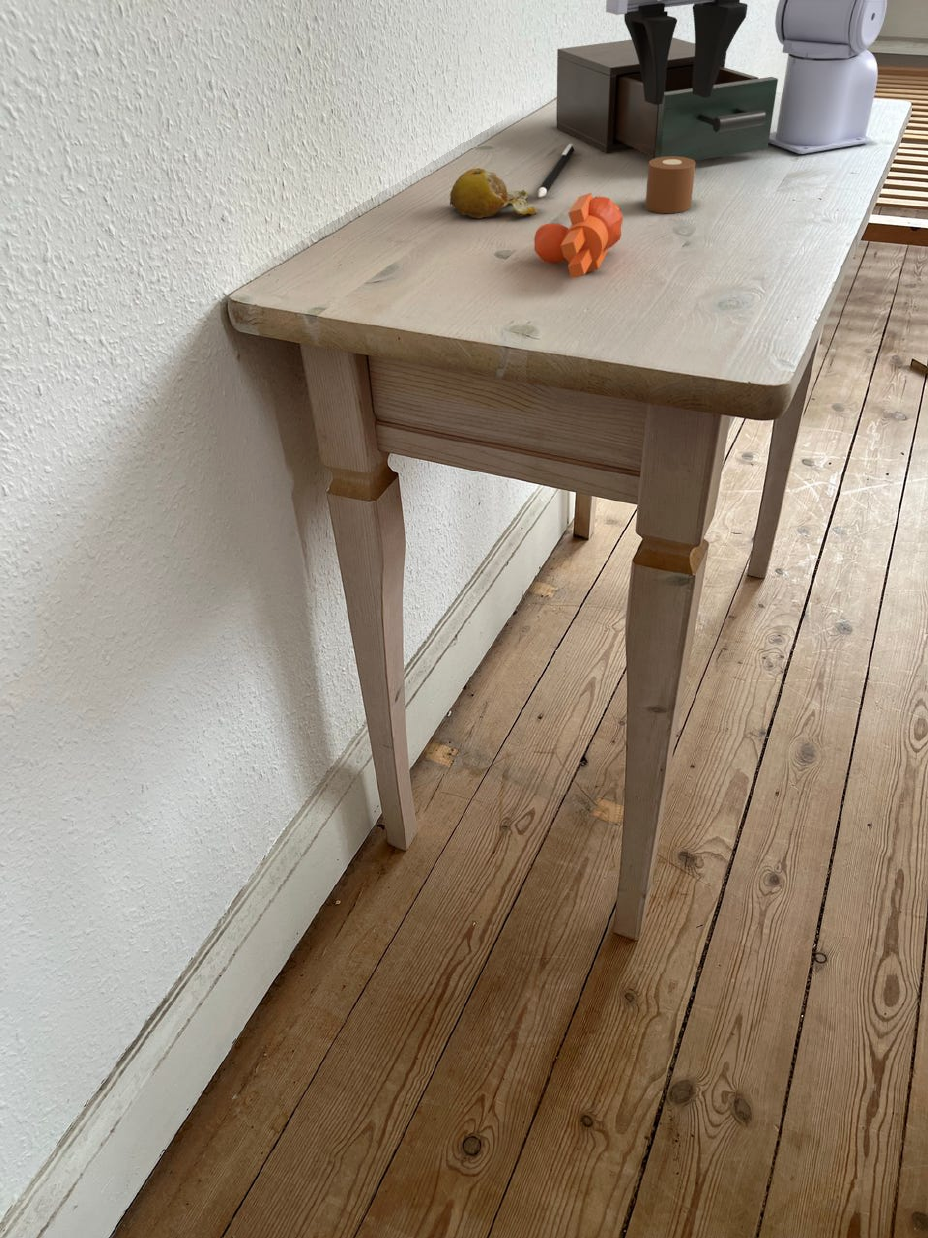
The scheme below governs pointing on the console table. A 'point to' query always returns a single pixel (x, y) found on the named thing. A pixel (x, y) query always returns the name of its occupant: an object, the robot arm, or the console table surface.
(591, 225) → the orange chunky figure
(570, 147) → the pen
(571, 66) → the cabinet
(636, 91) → the drawer
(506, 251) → the console table surface
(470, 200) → the fruit
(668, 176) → the brown short cylinder
